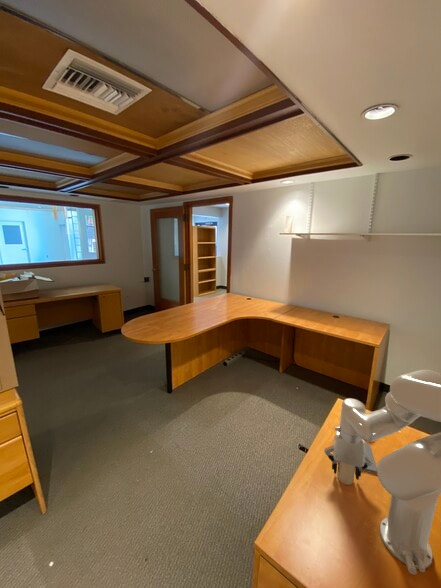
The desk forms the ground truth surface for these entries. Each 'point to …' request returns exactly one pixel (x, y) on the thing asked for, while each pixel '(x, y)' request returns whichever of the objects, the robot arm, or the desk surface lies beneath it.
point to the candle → (345, 473)
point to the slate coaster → (369, 453)
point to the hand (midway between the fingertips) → (345, 473)
